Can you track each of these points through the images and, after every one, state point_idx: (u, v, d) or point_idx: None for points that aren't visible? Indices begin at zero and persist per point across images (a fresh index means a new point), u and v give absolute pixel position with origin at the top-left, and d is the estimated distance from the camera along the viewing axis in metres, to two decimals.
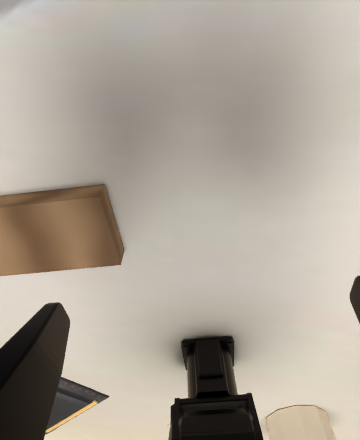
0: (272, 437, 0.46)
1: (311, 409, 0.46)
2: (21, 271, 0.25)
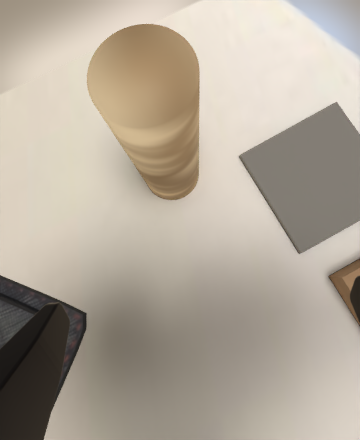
0: None
1: None
2: None
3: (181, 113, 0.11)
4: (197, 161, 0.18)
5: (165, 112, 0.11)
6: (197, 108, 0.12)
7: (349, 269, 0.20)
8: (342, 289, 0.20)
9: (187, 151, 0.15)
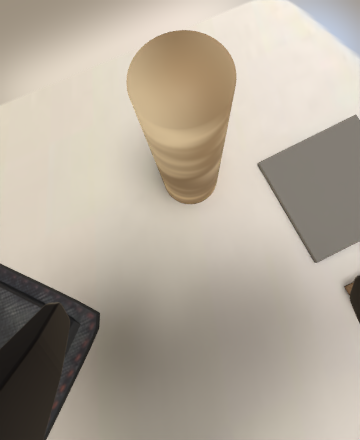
0: None
1: None
2: None
3: (217, 116, 0.11)
4: (219, 166, 0.19)
5: (202, 115, 0.11)
6: (229, 113, 0.13)
7: None
8: None
9: (214, 155, 0.15)
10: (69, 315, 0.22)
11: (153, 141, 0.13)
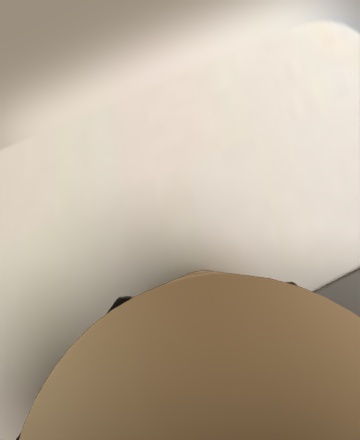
0: None
1: None
2: None
3: None
4: None
5: None
6: None
7: None
8: None
9: None
10: None
11: None
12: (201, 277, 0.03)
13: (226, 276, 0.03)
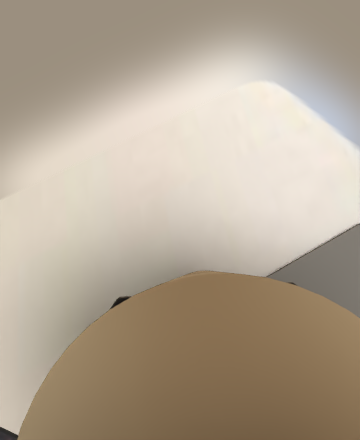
0: None
1: None
2: None
3: None
4: None
5: None
6: None
7: None
8: None
9: None
10: None
11: None
12: (199, 276, 0.03)
13: (224, 275, 0.03)
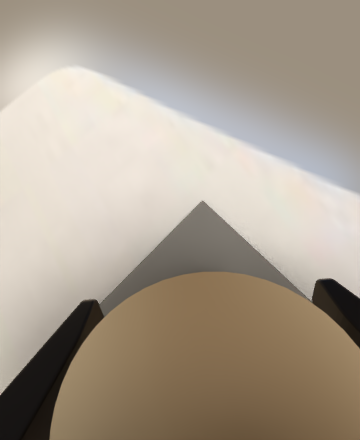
0: None
1: None
2: None
3: None
4: None
5: None
6: None
7: None
8: None
9: None
10: None
11: None
12: (194, 273, 0.04)
13: (213, 272, 0.04)
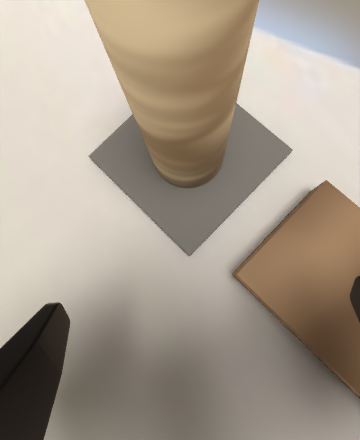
0: None
1: None
2: (285, 312, 0.14)
3: None
4: (230, 127, 0.13)
5: None
6: None
7: (248, 259, 0.15)
8: (247, 287, 0.15)
9: (227, 92, 0.09)
10: None
11: (116, 50, 0.07)
12: None
13: None
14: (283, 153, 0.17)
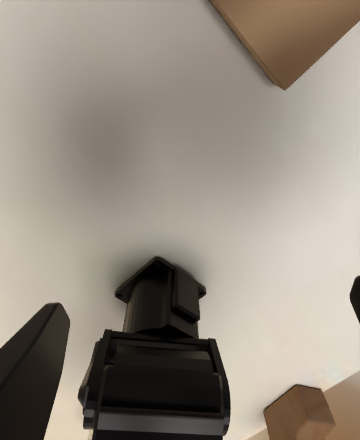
0: None
1: None
2: None
3: None
4: None
5: None
6: None
7: None
8: None
9: None
10: None
11: None
12: None
13: None
14: None
